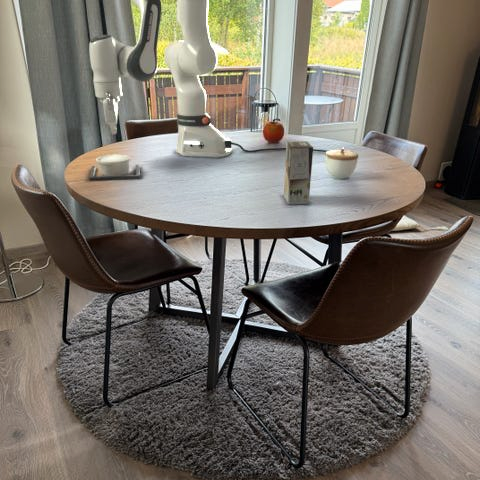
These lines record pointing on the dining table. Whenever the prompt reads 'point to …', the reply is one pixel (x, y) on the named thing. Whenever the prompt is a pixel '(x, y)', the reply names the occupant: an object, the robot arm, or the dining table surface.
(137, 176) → the bay
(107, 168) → the ramekin
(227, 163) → the dining table surface
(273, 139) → the fruit
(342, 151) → the trinket box
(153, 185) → the dining table surface
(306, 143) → the coffee box
